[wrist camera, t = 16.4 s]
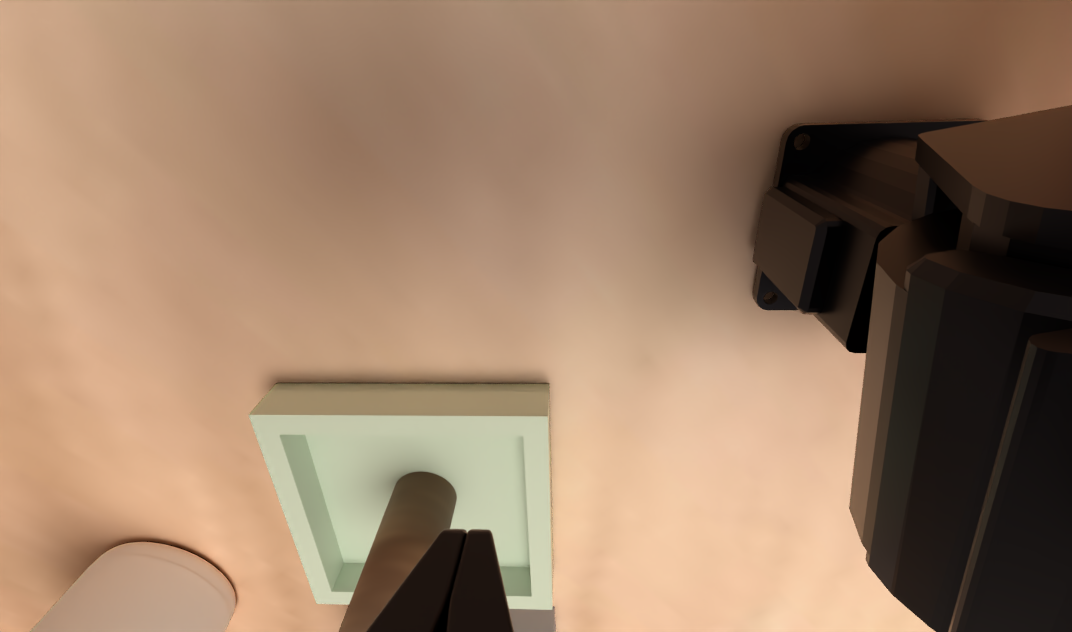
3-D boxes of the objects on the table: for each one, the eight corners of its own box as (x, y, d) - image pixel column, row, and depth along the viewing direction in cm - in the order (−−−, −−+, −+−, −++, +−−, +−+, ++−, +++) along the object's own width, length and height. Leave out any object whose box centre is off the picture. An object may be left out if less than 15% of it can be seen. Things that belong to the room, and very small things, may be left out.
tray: (549, 383, 21) (548, 416, 20) (553, 569, 27) (552, 609, 25) (276, 383, 22) (248, 414, 20) (333, 565, 28) (316, 603, 26)
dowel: (452, 471, 23) (413, 623, 17) (459, 517, 25) (425, 673, 18) (389, 471, 23) (327, 621, 17) (399, 517, 25) (345, 671, 19)
